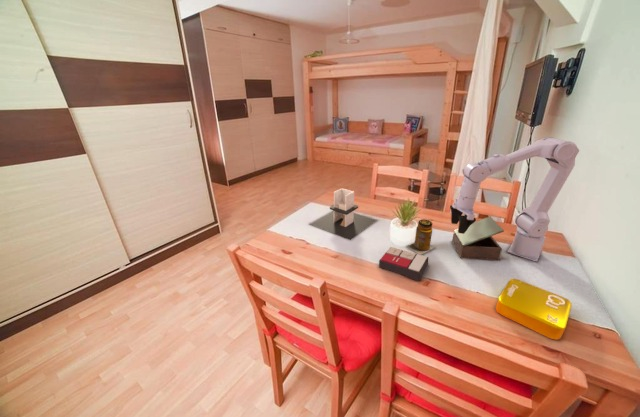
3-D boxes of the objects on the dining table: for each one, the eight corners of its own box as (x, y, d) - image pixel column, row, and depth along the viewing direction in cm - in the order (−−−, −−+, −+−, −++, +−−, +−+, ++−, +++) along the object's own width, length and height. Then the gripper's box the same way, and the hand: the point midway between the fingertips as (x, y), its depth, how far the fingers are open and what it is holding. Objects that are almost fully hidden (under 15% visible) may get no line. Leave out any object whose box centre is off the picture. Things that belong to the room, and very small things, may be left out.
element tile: (507, 286, 87) (511, 275, 85) (567, 311, 76) (573, 298, 74) (493, 311, 77) (497, 299, 75) (559, 343, 67) (565, 330, 65)
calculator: (390, 245, 105) (429, 255, 96) (390, 254, 107) (428, 265, 98) (378, 258, 97) (420, 271, 88) (378, 268, 99) (419, 281, 90)
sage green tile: (490, 217, 105) (490, 216, 105) (504, 231, 94) (503, 230, 94) (454, 231, 110) (453, 230, 110) (463, 246, 100) (462, 245, 99)
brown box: (486, 244, 110) (489, 233, 108) (498, 260, 100) (502, 248, 97) (451, 242, 112) (453, 231, 110) (460, 258, 102) (462, 246, 100)
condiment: (433, 248, 108) (438, 222, 104) (420, 255, 104) (424, 229, 99) (419, 240, 114) (422, 216, 109) (406, 247, 110) (409, 221, 105)
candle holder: (309, 224, 132) (307, 194, 125) (338, 208, 148) (337, 180, 142) (350, 240, 117) (350, 206, 110) (377, 220, 133) (379, 189, 127)
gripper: (449, 188, 103) (441, 218, 109) (463, 202, 90) (453, 236, 96) (468, 189, 103) (458, 220, 108) (485, 204, 89) (473, 238, 95)
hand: (457, 228), depth 102 cm, fingers open, 7 cm apart
